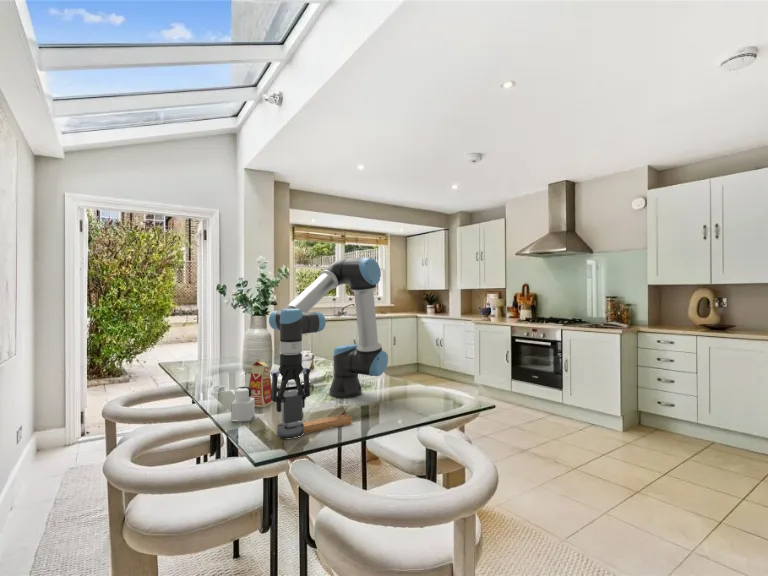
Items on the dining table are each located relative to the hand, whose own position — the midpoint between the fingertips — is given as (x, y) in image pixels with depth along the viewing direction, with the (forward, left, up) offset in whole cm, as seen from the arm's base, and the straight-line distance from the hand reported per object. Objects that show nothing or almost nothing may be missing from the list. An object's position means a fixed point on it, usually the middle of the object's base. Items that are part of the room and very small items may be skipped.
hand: (290, 418), depth 141 cm
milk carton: (-1, -41, -6) cm, 41 cm away
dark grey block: (0, 0, 0) cm, 0 cm away
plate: (-20, -70, -6) cm, 73 cm away
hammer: (-9, 0, -5) cm, 11 cm away
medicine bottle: (+10, -25, -6) cm, 27 cm away
